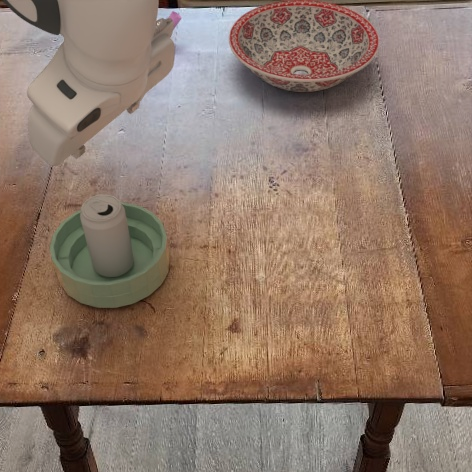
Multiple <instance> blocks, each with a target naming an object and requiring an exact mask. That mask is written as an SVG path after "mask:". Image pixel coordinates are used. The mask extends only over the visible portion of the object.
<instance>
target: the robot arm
mask: <svg viewBox="0 0 472 472" xmlns="http://www.w3.org/2000/svg"><path fill="white" fill-rule="evenodd" d="M1 1H2V2H3V3H4V4H5V5H6V6H7V7H8V8H9V10H11V11H12V13H14V14H15V15H16V16H18V18H20V19H21V20H23V21H24V22H26V23H27V24H29V25H31V26H32V27H33V26H34V27H35V28H37V29H39V30H41V31H43V32H46V33H48V34H51V35H54V36H60V35H61V36H62V37H63V42H62V43H61V44H60V45H59V47H58V48H57V50H56V52H55V53H54V55H53V57H52V58H51V60H50V61H49V62H48V63H47V65H46V66H45V67H44V68H43V69H42V71H41V72H40V73H39V74H38V75H37V76H36V78H34V80H33V81H32V82H30V84H29V86H28V87H27V89H26V96H27V99H28V100H29V101H30V102H31V104H32V106H31V108H30V109H29V113H28V118H27V129H28V139H29V144H30V147H31V149H32V150H33V151H34V152H35V153H36V154H37V155H38V156H39V157H40V158H41V159H42V160H43V162H45V163H46V164H48V165H49V166H50V167H57V166H60V165H61V164H62V163H63V162H64V161H66V160H67V159H68V158H69V157H71V156H72V157H73V158H74V159H75V160H77V159H79V158H80V157H82V155H84V154H85V153H86V145H85V144H87V143H88V142H89V141H90V140H92V138H94V137H95V136H96V135H98V133H100V132H101V131H102V130H103V129H104V128H106V127H107V126H108V125H109V124H111V123H112V122H113V121H114V120H115V119H117V118H118V117H119V116H120V115H121V114H123V113H124V112H125V111H126V112H127V113H128V114H130V115H131V114H133V113H134V112H135V111H137V110H138V109H140V105H141V102H142V100H143V98H144V97H145V96H146V94H148V93H149V91H151V90H152V89H153V88H154V87H155V86H157V85H158V84H159V83H160V82H162V81H163V80H164V79H165V78H167V77H168V76H169V74H170V73H171V71H172V69H173V68H174V64H175V54H176V45H175V42H174V40H173V39H172V35H173V32H174V30H173V28H174V22H173V20H172V19H171V18H168V17H167V18H163V17H161V18H159V19H158V13H159V0H1Z"/></svg>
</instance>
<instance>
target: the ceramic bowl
mask: <svg viewBox="0 0 472 472" xmlns="http://www.w3.org/2000/svg"><path fill="white" fill-rule="evenodd" d="M228 45H229V48H230V50H231V52H232V54H233V56H234V57H235V58H236V59H237V60H238V61H239V62H240V63H241V64H242V65H244V66H246V67H247V68H248V69H249V70H250V71H251V72H252V74H254V75H255V76H256V77H258V78H259V79H261V81H263V82H265V83H267V84H268V85H270V86H273V87H275V88H278V89H281V90H284V91H288V92H294V93H295V92H297V93H311V92H319V91H325V90H327V89H330V88H333V87H335V86H338V85H339V84H342V83H343V82H345V81H347V80H348V79H349V78H350V77H352V76H353V75H355V74H356V73H357V72H359V71H361V70H363V69H365V68H366V67H367V66H368V65H369V64H371V62H373V60H374V59H375V58H376V56H377V54H378V52H379V49H380V37H379V34H378V32H377V30H376V28H375V27H374V25H373V24H372V23H371V22H370V21H369V20H368V19H367V18H365V17H364V16H363V15H361V14H360V13H357V12H356V11H354V10H352V9H350V8H347V7H345V6H342V5H339V4H335V3H331V2H327V1H319V0H280V1H275V2H274V1H273V2H270V3H266V4H264V5H260V6H257V7H255V8H252V9H250V10H248V11H247V12H245V13H244V14H243V15H241V16H240V17H239V18H237V19H236V21H235V22H234V23H233V25H232V26H231V28H230V30H229V34H228ZM298 71H304V72H307V74H299V73H297V74H296V73H295V72H298Z"/></svg>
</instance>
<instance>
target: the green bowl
mask: <svg viewBox="0 0 472 472" xmlns="http://www.w3.org/2000/svg"><path fill="white" fill-rule="evenodd" d="M120 202H121V204H122V205H123V207H124V209H125V214H126V219H127V224H128V230H129V235H130V240H131V246H132V251H133V257H134V263H133V266H132V267H131V269H130V270H129V271H128V272H126V273H125V274H123V275H121V276H117V277H105V276H102V275H100V274H98V273H97V272H96V271H95V270H94V268H93V265H92V261H91V257H90V253H89V250H88V246H87V242H86V238H85V234H84V230H83V226H82V223H81V219H80V214H81V209H80V210H76V211H75V212H73V213H72V214H71V215H69V216H68V217H67V218H65V219H64V220H63V221H62V222H61V223H60V224H59V225H58V227H57V228H56V229H55V231H54V232H53V234H52V236H51V241H50V245H49V251H50V256H51V262H52V264H53V267H54V270H55V274H56V277H57V280H58V283H59V285H60V286H61V288H62V289H63V290H64V292H65V293H66V294H67V296H69V297H70V298H72V299H74V300H75V301H77V302H78V303H80V304H83V305H86V306H90V307H93V308H97V309H116V308H121V307H125V306H130V305H134V304H136V303H137V302H139V301H141V300H143V299H146V298H148V297H149V296H151V295H152V294H153V293H154V292H155V291H156V290H157V289H159V287H161V286H162V285H163V283H164V282H165V280H166V277H167V275H168V274H169V270H170V261H171V258H170V251H169V241H168V234H167V232H166V228H165V225H164V223H163V222H162V221H161V220H160V219H159V217H158V216H157V215H156V214H155V213H154V212H152V211H151V210H148V209H146V208H145V207H143V206H141V205H138V204H133V203H129V202H126V201H125V202H124V201H120Z"/></svg>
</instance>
